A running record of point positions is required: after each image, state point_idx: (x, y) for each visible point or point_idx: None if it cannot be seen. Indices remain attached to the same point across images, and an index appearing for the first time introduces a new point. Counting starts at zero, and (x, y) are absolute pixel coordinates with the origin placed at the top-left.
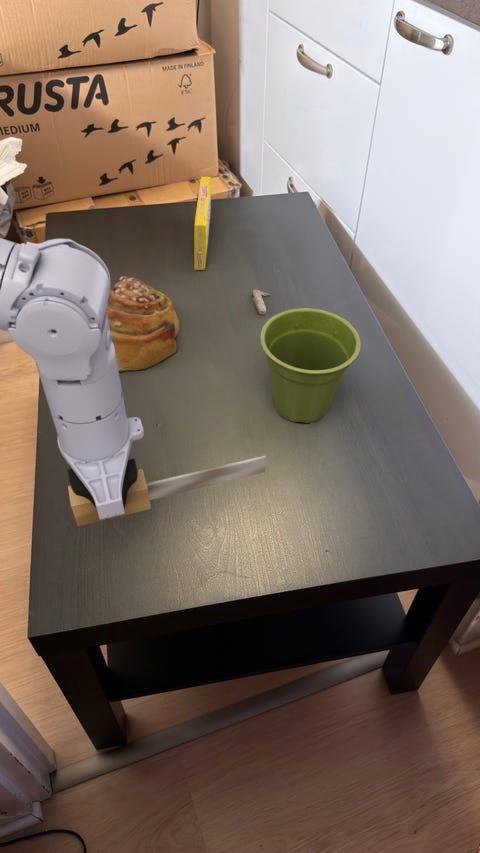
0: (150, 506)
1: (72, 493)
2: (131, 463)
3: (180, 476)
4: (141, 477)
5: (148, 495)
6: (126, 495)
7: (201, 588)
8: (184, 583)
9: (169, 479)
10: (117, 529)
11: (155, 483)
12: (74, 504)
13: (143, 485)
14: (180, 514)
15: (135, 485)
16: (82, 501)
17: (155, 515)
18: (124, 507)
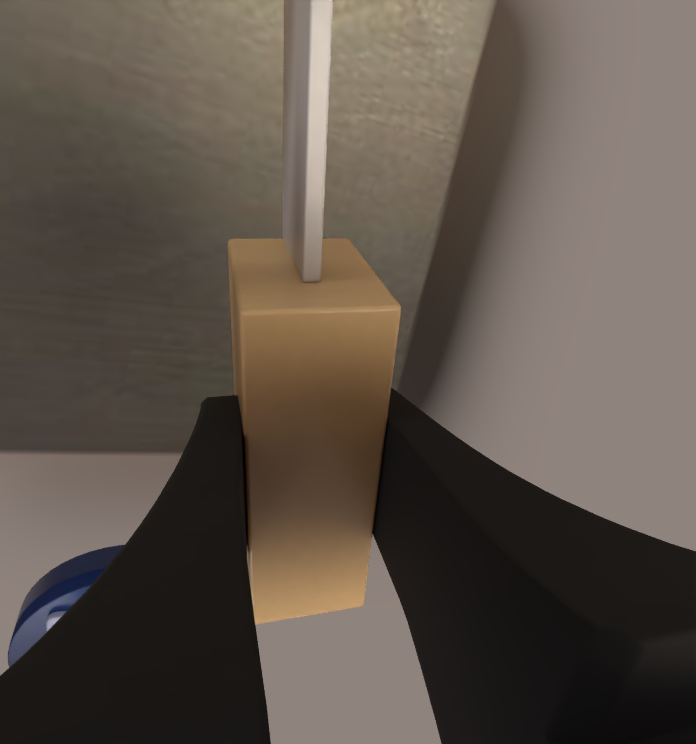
0: (349, 242)
1: (302, 610)
2: (679, 663)
3: (319, 34)
4: (310, 327)
5: (377, 277)
6: (478, 453)
7: (440, 52)
8: (404, 103)
9: (322, 128)
10: (155, 264)
11: (321, 226)
12: (362, 599)
13: (373, 324)
14: (130, 23)
15: (355, 365)
16: (357, 575)
17: (119, 126)
18: (398, 394)
